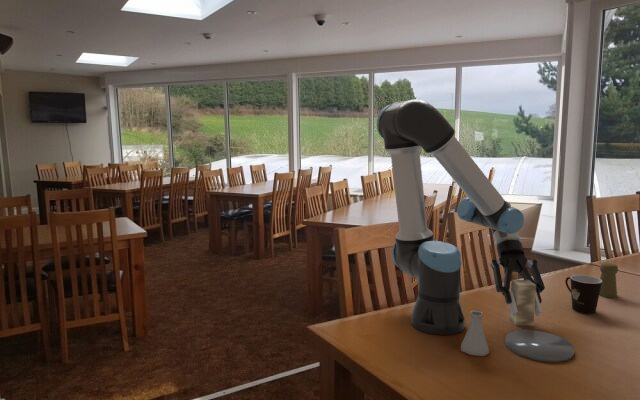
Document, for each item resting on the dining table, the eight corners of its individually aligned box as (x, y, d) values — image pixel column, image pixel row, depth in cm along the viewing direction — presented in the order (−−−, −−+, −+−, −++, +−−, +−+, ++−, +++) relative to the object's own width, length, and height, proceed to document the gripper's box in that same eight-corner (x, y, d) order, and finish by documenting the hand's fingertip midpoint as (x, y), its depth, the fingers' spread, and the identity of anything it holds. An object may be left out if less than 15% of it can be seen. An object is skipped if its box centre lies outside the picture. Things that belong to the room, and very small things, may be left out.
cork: (617, 293, 160) (619, 262, 158) (617, 299, 155) (619, 267, 153) (596, 290, 163) (599, 260, 161) (596, 295, 158) (598, 264, 156)
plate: (528, 364, 111) (528, 359, 111) (493, 336, 126) (494, 332, 126) (588, 359, 113) (589, 354, 113) (547, 332, 129) (548, 328, 128)
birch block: (516, 325, 134) (518, 285, 132) (509, 318, 139) (511, 279, 137) (533, 325, 134) (536, 285, 132) (526, 318, 138) (528, 279, 137)
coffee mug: (604, 316, 140) (606, 284, 139) (573, 314, 142) (575, 282, 140) (590, 302, 151) (592, 273, 150) (561, 301, 153) (563, 271, 152)
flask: (486, 359, 113) (488, 320, 112) (456, 352, 117) (458, 314, 116) (492, 348, 119) (494, 311, 118) (464, 341, 123) (465, 305, 122)
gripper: (535, 250, 149) (556, 319, 135) (475, 250, 149) (489, 318, 135) (543, 238, 143) (566, 308, 129) (481, 238, 143) (497, 308, 129)
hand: (527, 313), depth 132 cm, fingers open, 6 cm apart
